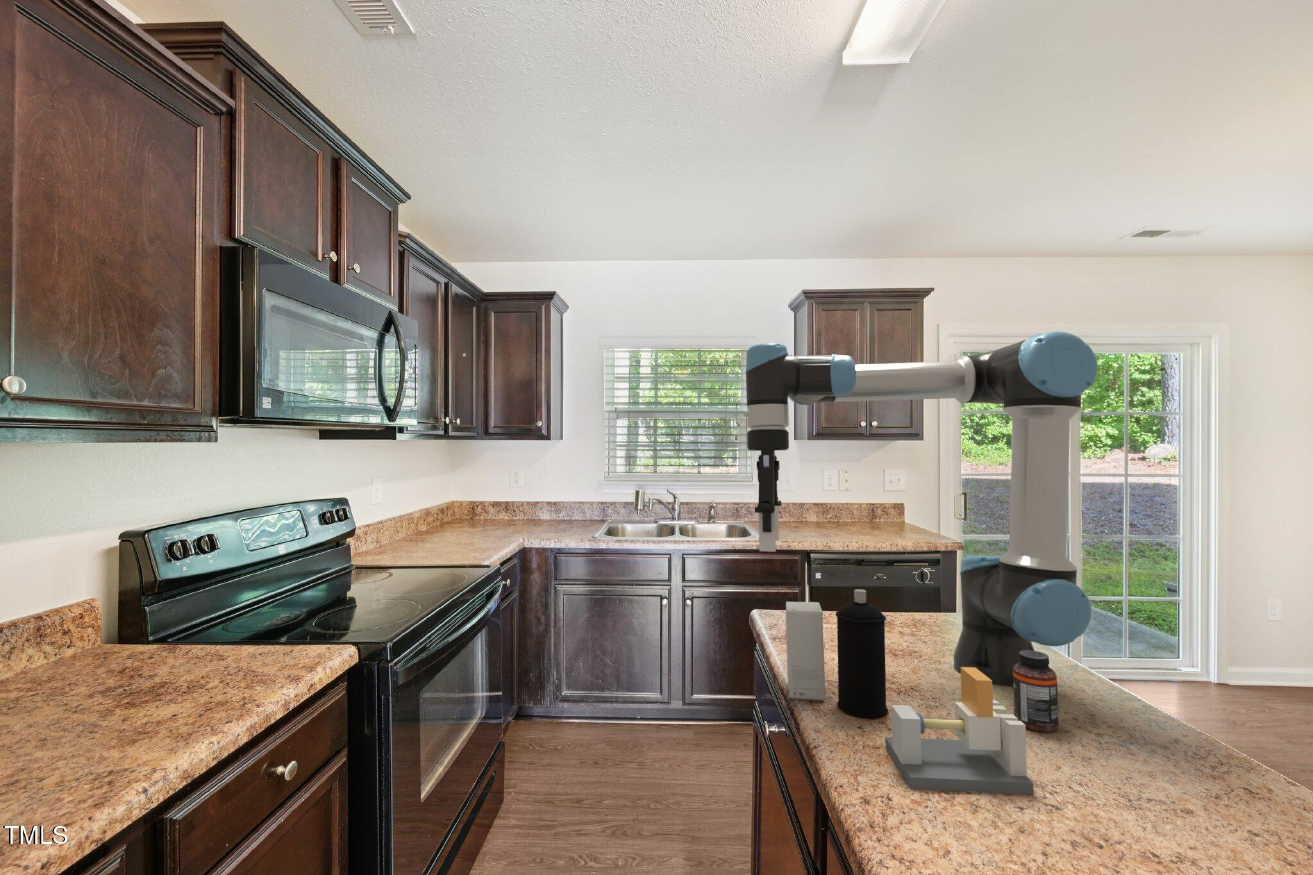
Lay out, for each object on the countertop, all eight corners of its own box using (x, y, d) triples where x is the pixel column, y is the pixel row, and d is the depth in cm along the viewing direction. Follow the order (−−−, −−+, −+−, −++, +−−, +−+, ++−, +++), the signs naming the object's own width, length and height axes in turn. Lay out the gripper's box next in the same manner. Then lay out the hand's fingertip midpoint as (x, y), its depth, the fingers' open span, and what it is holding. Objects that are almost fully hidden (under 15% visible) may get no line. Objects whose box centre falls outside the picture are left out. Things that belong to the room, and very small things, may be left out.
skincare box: (825, 702, 102) (824, 612, 103) (787, 699, 104) (786, 610, 104) (821, 684, 111) (820, 601, 111) (786, 681, 112) (785, 599, 112)
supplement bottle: (1016, 713, 97) (1014, 645, 98) (1059, 723, 94) (1057, 652, 94) (1012, 727, 93) (1010, 654, 93) (1057, 737, 89) (1055, 662, 89)
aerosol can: (863, 723, 94) (861, 598, 95) (826, 704, 101) (824, 588, 102) (898, 713, 98) (896, 592, 99) (860, 695, 105) (859, 583, 106)
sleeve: (984, 733, 82) (982, 667, 82) (1002, 751, 77) (1000, 680, 77) (954, 732, 82) (953, 666, 83) (970, 750, 78) (968, 679, 78)
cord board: (992, 751, 85) (990, 695, 85) (1033, 794, 74) (1031, 730, 74) (885, 747, 86) (884, 692, 86) (910, 788, 75) (909, 725, 76)
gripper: (752, 432, 120) (754, 536, 119) (740, 425, 96) (742, 555, 95) (789, 431, 118) (791, 536, 118) (786, 424, 94) (789, 557, 93)
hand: (769, 545), depth 106 cm, fingers open, 13 cm apart
